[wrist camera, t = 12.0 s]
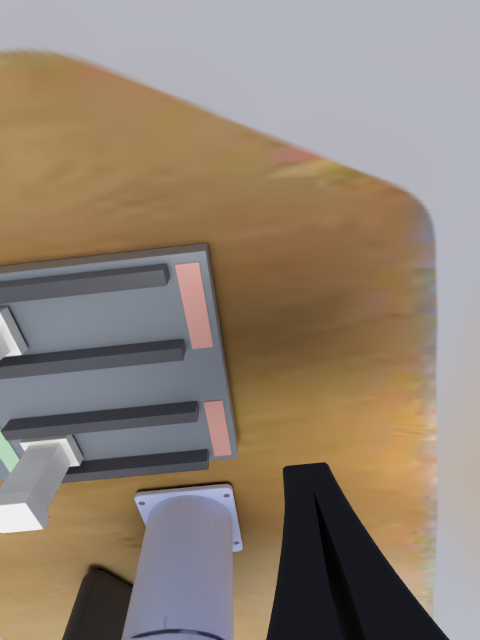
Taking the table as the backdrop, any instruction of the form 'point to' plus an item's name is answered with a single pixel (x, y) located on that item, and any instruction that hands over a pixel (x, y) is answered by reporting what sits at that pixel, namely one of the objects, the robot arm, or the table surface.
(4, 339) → the breaker
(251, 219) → the table surface
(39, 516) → the breaker
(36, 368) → the panel
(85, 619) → the leaning round-cornered charcoal block
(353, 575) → the robot arm
